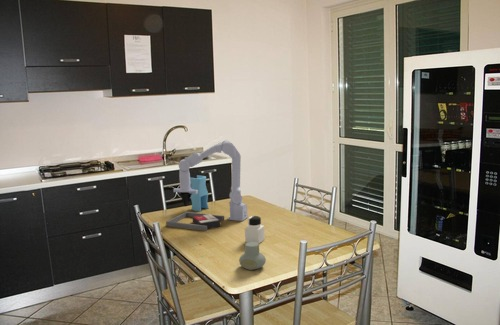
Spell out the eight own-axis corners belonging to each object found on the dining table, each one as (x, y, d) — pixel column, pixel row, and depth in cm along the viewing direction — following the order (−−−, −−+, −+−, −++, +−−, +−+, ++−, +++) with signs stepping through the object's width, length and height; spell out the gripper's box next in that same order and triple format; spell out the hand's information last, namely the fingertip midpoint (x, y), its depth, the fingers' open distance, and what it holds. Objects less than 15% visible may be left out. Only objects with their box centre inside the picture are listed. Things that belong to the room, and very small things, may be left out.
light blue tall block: (199, 206, 285) (197, 175, 281) (208, 208, 280) (207, 176, 277) (190, 209, 278) (188, 177, 275) (200, 211, 274) (198, 178, 270)
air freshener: (236, 269, 188) (235, 246, 186) (244, 261, 195) (243, 239, 194) (261, 272, 184) (261, 248, 182) (268, 264, 192) (267, 242, 190)
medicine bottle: (264, 239, 222) (264, 215, 220) (258, 244, 216) (258, 219, 214) (251, 237, 225) (250, 214, 223) (245, 242, 219) (244, 218, 217)
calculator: (210, 213, 257) (220, 219, 244) (211, 220, 258) (220, 226, 244) (192, 216, 253) (200, 222, 240) (192, 223, 254) (200, 230, 240)
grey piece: (224, 220, 255) (224, 215, 255) (206, 231, 238) (206, 226, 237) (186, 215, 266) (186, 211, 265) (166, 226, 248) (166, 221, 248)
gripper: (169, 182, 250) (171, 206, 252) (192, 183, 243) (193, 208, 246) (177, 179, 256) (178, 203, 258) (199, 181, 250) (200, 205, 252)
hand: (186, 205), depth 252 cm, fingers closed
